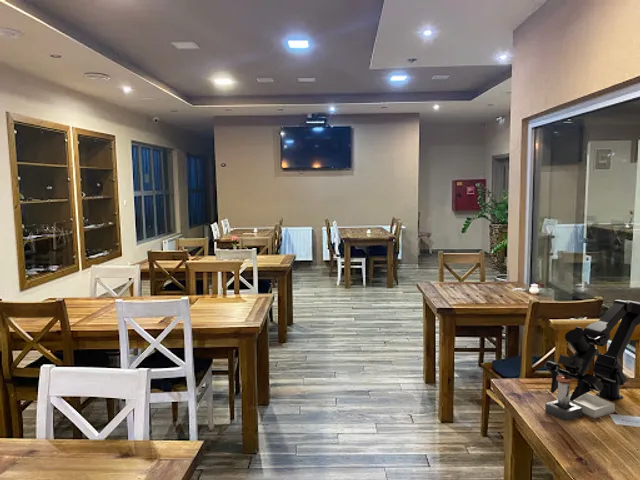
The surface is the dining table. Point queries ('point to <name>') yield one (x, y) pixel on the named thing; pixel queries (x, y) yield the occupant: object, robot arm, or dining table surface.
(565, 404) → the pin
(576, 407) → the dark grey square socket
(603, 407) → the tray
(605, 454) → the dining table surface
